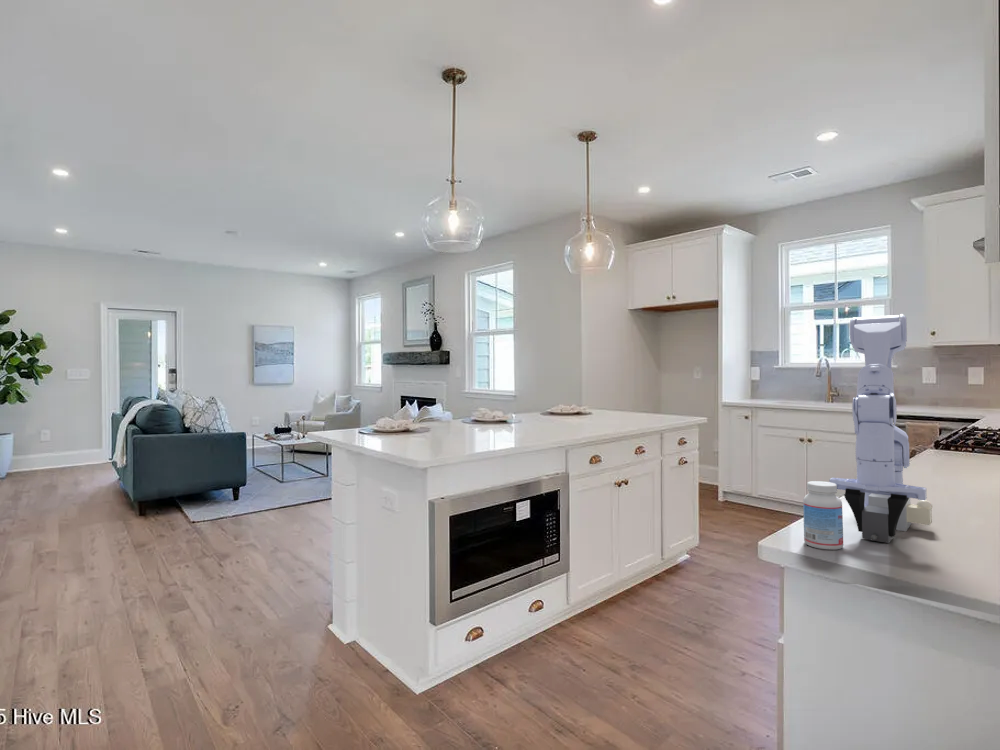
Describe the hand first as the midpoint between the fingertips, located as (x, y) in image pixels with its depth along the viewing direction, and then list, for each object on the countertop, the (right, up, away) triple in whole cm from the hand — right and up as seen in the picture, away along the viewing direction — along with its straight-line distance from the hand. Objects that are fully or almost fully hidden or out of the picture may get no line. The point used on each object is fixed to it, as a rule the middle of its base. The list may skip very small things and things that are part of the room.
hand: (876, 532), depth 98 cm
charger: (+1, -1, +1) cm, 2 cm away
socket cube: (+9, -1, +9) cm, 13 cm away
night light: (+13, 0, +6) cm, 14 cm away
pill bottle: (-11, -2, -2) cm, 11 cm away
